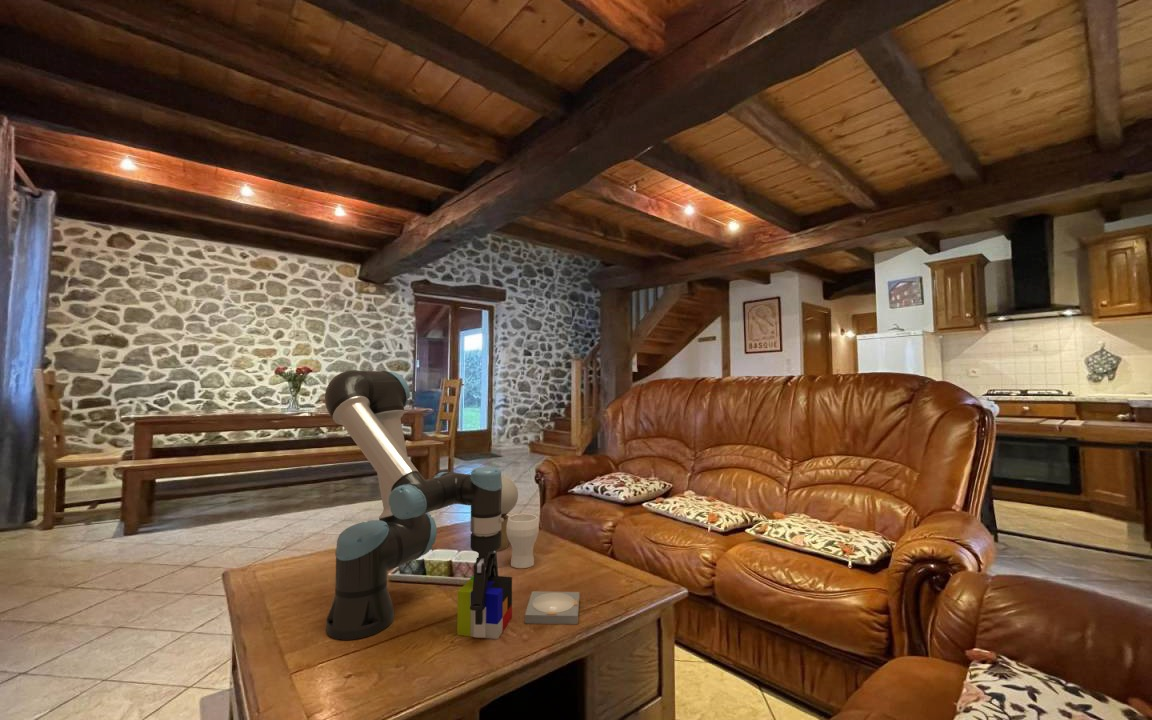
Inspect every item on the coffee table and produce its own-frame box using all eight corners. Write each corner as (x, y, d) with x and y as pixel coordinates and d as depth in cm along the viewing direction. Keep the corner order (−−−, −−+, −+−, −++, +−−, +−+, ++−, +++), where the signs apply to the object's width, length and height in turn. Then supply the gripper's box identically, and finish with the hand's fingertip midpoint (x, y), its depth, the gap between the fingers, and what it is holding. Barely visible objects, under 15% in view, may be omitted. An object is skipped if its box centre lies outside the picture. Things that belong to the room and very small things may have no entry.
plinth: (524, 623, 112) (525, 614, 113) (532, 598, 125) (532, 590, 126) (577, 624, 112) (577, 614, 112) (579, 599, 125) (579, 591, 125)
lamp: (504, 536, 178) (505, 471, 179) (525, 545, 167) (525, 476, 168) (469, 545, 168) (470, 476, 169) (488, 556, 157) (489, 482, 159)
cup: (503, 559, 154) (504, 514, 154) (534, 556, 157) (535, 511, 158) (508, 572, 143) (509, 523, 144) (541, 568, 147) (542, 520, 148)
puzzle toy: (497, 639, 105) (497, 594, 106) (457, 634, 107) (457, 591, 108) (511, 617, 115) (512, 577, 116) (474, 614, 117) (475, 574, 118)
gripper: (490, 548, 101) (490, 651, 100) (509, 518, 124) (509, 601, 123) (457, 548, 101) (456, 651, 100) (482, 518, 124) (481, 601, 123)
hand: (485, 624), depth 111 cm, fingers closed on puzzle toy, 11 cm apart
